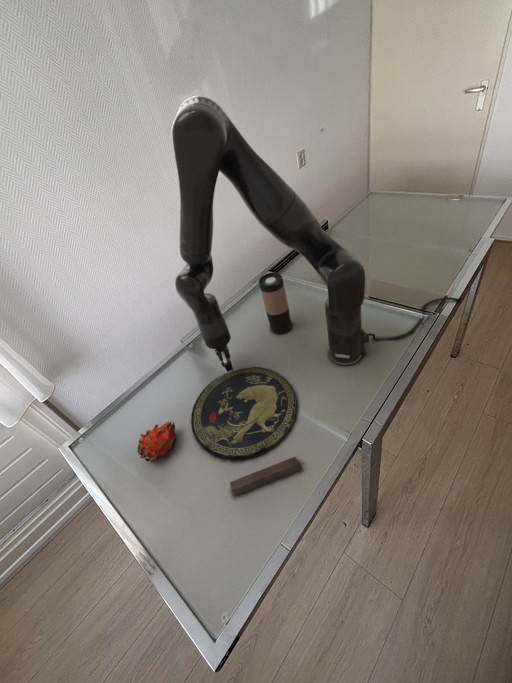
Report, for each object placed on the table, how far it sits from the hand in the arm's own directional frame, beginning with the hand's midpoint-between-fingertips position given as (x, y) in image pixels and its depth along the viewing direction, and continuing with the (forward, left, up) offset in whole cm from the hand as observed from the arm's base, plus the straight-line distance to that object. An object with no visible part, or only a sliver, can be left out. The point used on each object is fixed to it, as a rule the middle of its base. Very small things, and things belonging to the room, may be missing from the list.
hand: (229, 369), depth 101 cm
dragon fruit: (+23, +18, -2) cm, 30 cm away
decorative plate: (0, +16, -2) cm, 16 cm away
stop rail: (-1, +37, -2) cm, 37 cm away
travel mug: (-22, -12, -2) cm, 25 cm away
